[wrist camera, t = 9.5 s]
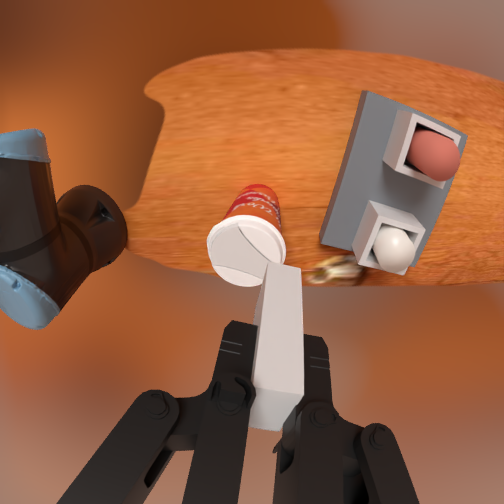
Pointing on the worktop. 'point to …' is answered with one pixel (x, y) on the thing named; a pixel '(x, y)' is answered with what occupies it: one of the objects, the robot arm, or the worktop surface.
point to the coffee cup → (248, 237)
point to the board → (384, 181)
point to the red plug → (433, 154)
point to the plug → (393, 248)
